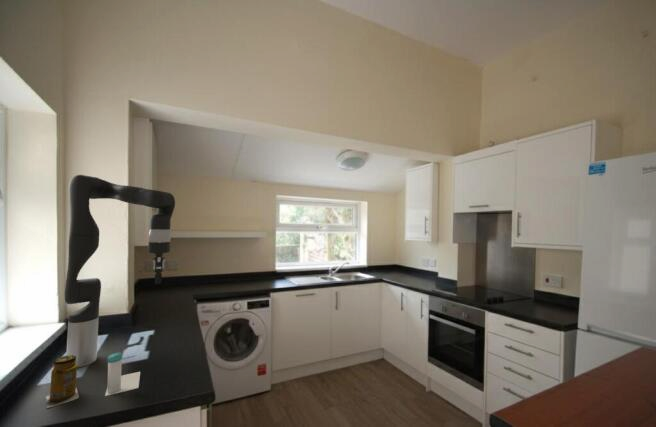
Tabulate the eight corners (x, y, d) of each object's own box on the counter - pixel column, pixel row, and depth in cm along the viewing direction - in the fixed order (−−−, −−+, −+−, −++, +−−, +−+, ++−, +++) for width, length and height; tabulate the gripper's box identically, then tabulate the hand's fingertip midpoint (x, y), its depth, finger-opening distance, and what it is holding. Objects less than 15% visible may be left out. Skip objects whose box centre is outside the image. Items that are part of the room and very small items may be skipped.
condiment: (76, 387, 94) (78, 351, 94) (79, 398, 88) (81, 360, 88) (45, 397, 88) (48, 358, 89) (46, 409, 83) (48, 368, 83)
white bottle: (107, 389, 92) (108, 354, 93) (121, 385, 94) (122, 351, 95) (106, 395, 89) (107, 359, 90) (120, 391, 91) (121, 355, 92)
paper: (110, 378, 99) (110, 378, 99) (140, 372, 104) (140, 371, 104) (104, 396, 89) (104, 395, 89) (138, 388, 94) (138, 387, 94)
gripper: (149, 240, 114) (147, 279, 114) (148, 242, 102) (146, 286, 101) (169, 239, 118) (168, 277, 118) (171, 241, 106) (169, 283, 105)
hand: (158, 281), depth 110 cm, fingers open, 8 cm apart
